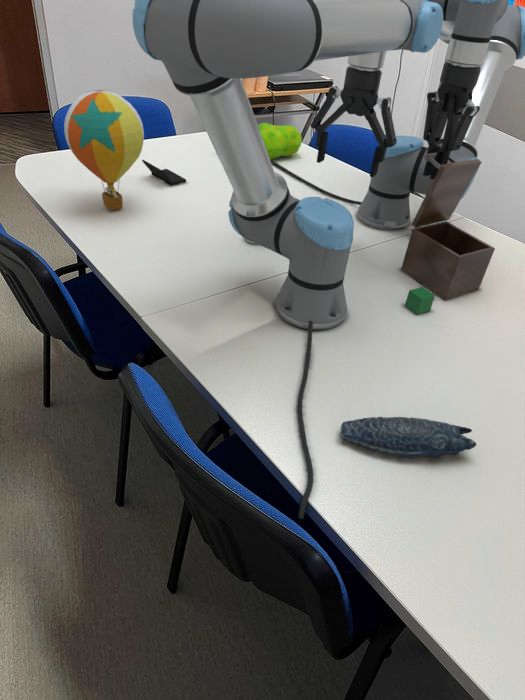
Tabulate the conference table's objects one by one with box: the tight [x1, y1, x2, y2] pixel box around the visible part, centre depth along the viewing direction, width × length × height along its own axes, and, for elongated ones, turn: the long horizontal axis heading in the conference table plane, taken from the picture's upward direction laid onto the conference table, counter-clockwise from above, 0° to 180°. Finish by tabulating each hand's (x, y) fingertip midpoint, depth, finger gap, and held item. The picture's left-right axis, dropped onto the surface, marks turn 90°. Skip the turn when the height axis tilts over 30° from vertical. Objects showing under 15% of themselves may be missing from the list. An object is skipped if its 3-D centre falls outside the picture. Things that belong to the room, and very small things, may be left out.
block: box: [404, 286, 436, 316], centre depth 116 cm, size 4×4×4 cm
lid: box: [411, 152, 483, 229], centre depth 121 cm, size 16×12×8 cm
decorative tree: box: [257, 122, 303, 160], centre depth 186 cm, size 18×10×30 cm
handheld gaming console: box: [141, 159, 187, 187], centre depth 162 cm, size 12×7×10 cm
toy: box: [63, 89, 145, 212], centre depth 136 cm, size 20×20×30 cm
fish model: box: [340, 416, 477, 458], centre depth 82 cm, size 7×21×5 cm, turn 84°
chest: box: [400, 220, 496, 301], centre depth 124 cm, size 15×12×11 cm
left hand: (346, 168), depth 122 cm, fingers open, 13 cm apart
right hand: (431, 176), depth 121 cm, fingers closed on lid, 2 cm apart
